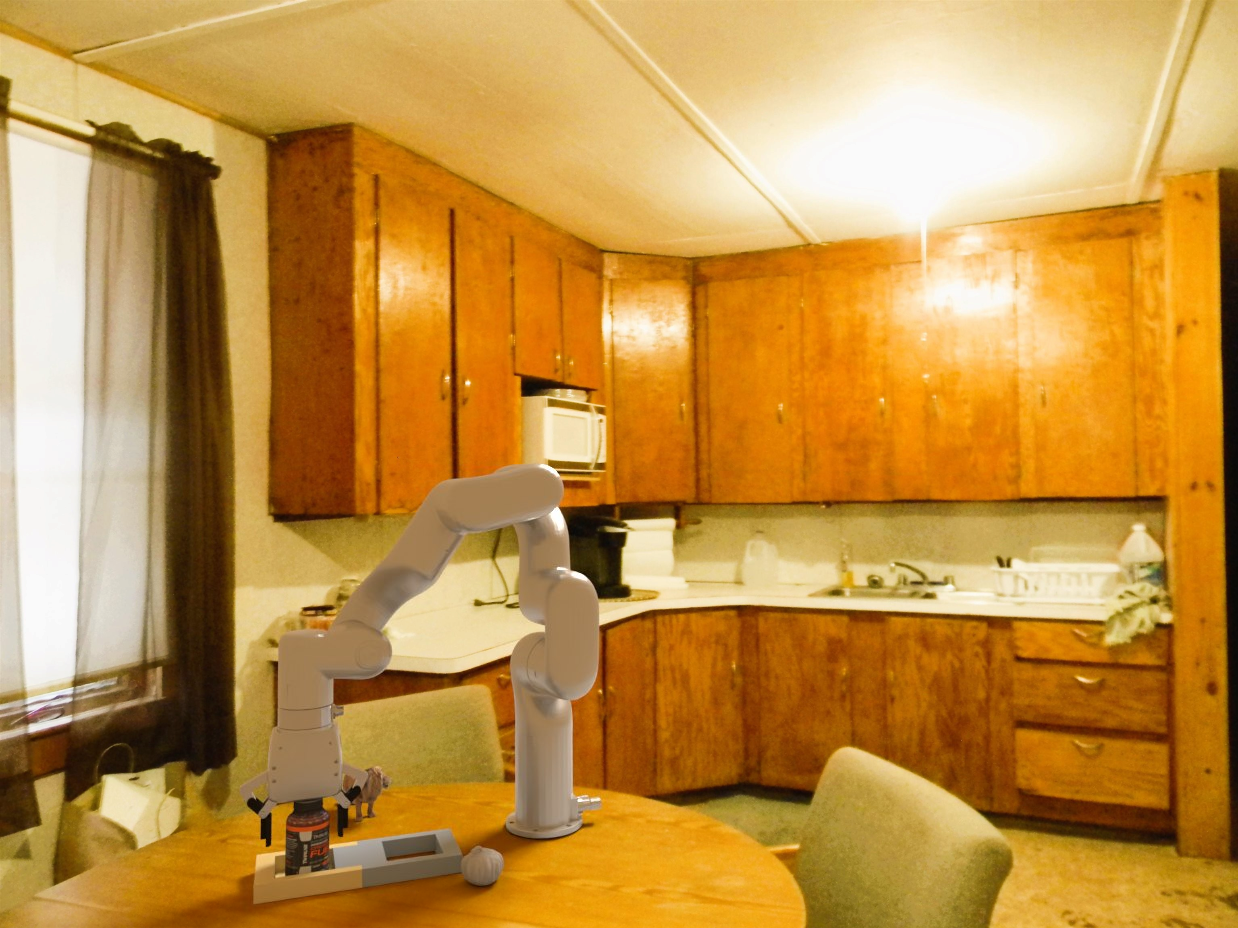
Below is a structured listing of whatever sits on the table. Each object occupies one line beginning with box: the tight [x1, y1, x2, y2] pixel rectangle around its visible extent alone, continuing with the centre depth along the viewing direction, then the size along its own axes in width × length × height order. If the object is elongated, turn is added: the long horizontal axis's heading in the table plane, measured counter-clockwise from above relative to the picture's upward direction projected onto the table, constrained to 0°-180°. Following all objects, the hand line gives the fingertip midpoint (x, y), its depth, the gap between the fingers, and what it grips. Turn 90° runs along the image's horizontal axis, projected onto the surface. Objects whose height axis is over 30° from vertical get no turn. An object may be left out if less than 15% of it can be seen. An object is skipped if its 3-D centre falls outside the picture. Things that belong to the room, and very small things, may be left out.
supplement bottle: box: [284, 798, 331, 876], centre depth 125 cm, size 6×6×11 cm
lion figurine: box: [342, 765, 393, 823], centre depth 152 cm, size 15×5×9 cm, turn 46°
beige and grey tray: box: [252, 828, 464, 905], centre depth 127 cm, size 28×11×2 cm, turn 110°
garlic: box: [460, 845, 504, 887], centre depth 124 cm, size 6×5×5 cm
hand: (304, 838), depth 125 cm, fingers open, 9 cm apart
